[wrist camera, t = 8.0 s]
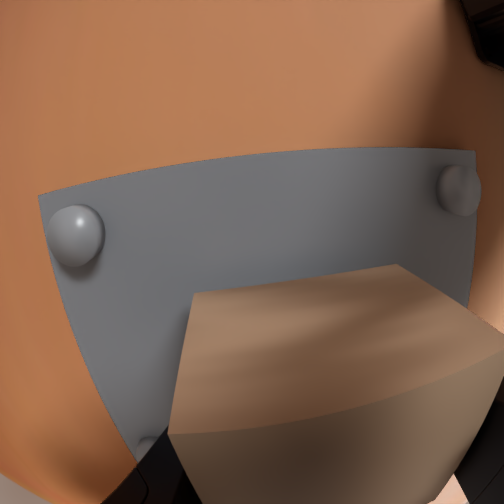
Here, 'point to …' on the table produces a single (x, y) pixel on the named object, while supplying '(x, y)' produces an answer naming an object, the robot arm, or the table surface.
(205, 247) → the baseplate
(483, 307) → the table surface
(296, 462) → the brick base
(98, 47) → the table surface
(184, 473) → the robot arm
